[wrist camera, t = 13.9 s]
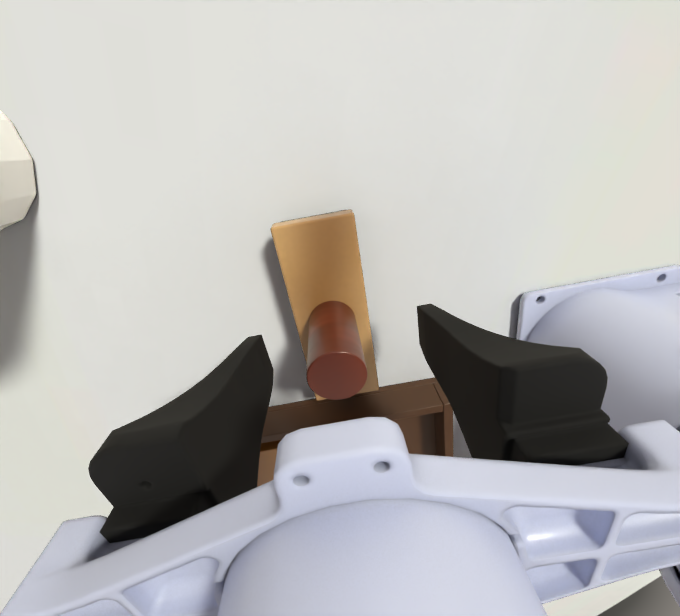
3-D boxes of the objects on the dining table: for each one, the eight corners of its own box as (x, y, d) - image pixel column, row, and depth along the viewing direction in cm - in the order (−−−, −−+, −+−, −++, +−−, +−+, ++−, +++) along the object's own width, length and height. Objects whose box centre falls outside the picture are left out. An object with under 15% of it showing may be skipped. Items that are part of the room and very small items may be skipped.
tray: (439, 376, 21) (453, 403, 19) (443, 501, 28) (454, 532, 26) (205, 417, 22) (192, 448, 19) (263, 531, 28) (259, 564, 26)
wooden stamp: (349, 204, 16) (368, 239, 10) (373, 367, 21) (396, 456, 15) (275, 218, 16) (250, 260, 10) (316, 377, 21) (316, 470, 15)
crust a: (286, 433, 22) (285, 447, 21) (299, 469, 24) (298, 484, 23) (230, 442, 22) (226, 457, 21) (247, 478, 24) (244, 493, 23)
